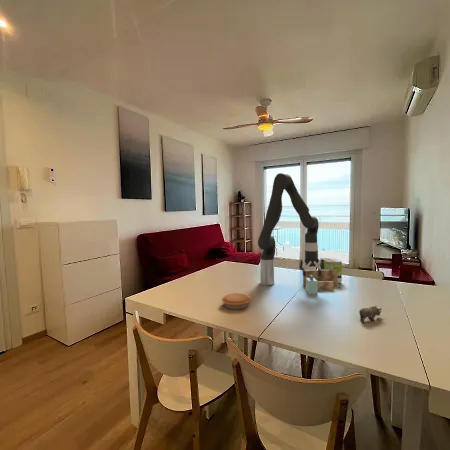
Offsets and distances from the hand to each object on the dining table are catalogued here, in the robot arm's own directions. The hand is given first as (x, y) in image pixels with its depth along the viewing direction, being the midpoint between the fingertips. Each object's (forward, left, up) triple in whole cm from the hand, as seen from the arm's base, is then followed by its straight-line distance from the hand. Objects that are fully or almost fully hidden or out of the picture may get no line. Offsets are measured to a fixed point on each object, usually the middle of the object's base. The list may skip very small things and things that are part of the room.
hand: (311, 276), depth 152 cm
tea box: (+21, +25, -10) cm, 34 cm away
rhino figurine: (+15, -38, -10) cm, 42 cm away
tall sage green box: (0, 0, -10) cm, 10 cm away
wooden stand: (+10, +10, -10) cm, 17 cm away
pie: (-46, -19, -10) cm, 51 cm away
